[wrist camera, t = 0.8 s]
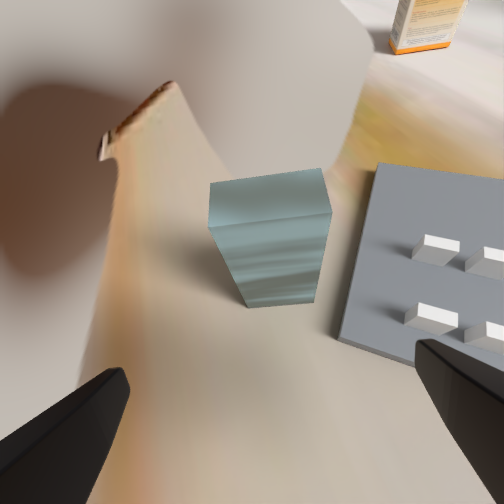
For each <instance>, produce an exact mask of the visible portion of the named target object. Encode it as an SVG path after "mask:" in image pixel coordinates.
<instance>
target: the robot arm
mask: <svg viewBox="0 0 504 504" xmlns="http://www.w3.org/2000/svg"><path fill="white" fill-rule="evenodd" d="M414 364H415V368H416V371H417V373H418V375H419V377H420V379H421V381H422V382H423V384H424V386H425V388H426V390H427V392H428V394H429V396H430V397H431V399H432V401H433V403H434V405H435V407H436V409H437V411H438V412H439V414H440V416H441V418H442V420H443V422H444V423H445V425H446V427H447V428H448V430H449V432H450V433H451V435H452V436H453V438H454V440H455V441H456V443H457V444H458V446H459V447H460V449H461V450H462V452H463V453H464V455H465V456H466V458H467V459H468V461H469V462H470V464H471V465H472V467H473V469H474V470H475V472H476V473H477V475H478V476H479V478H480V479H481V481H482V482H483V484H484V485H485V487H486V488H487V490H488V491H489V493H490V494H491V496H492V498H493V499H494V501H495V502H496V504H504V371H502V370H499V369H497V368H495V367H493V366H491V365H489V364H487V363H484V362H482V361H480V360H478V359H476V358H474V357H471V356H469V355H467V354H465V353H463V352H461V351H459V350H456V349H454V348H452V347H450V346H448V345H446V344H443V343H441V342H439V341H437V340H435V339H431V338H429V339H419V340H417V341H416V343H415V359H414ZM129 395H130V386H129V383H128V380H127V378H126V375H125V372H124V370H123V369H122V368H120V367H116V368H109V369H107V370H105V371H103V372H102V373H100V374H99V375H97V376H96V377H95V378H93V379H92V380H90V381H89V382H87V383H86V384H84V385H83V386H81V387H80V388H78V389H77V390H75V391H74V392H72V393H71V394H69V395H68V396H66V397H65V398H63V399H62V400H60V401H59V402H57V403H56V404H54V405H53V406H51V407H50V408H48V409H47V410H45V411H44V412H42V413H41V414H39V415H38V416H37V417H35V418H33V419H32V420H30V421H29V422H27V423H26V424H25V425H23V426H22V427H20V428H19V429H17V430H16V431H14V432H13V433H11V434H10V435H8V436H7V437H5V438H4V439H2V440H1V441H0V504H86V502H87V500H88V498H89V496H90V493H91V491H92V489H93V487H94V484H95V482H96V480H97V478H98V476H99V473H100V471H101V469H102V467H103V464H104V462H105V460H106V458H107V455H108V453H109V451H110V448H111V446H112V443H113V440H114V438H115V435H116V432H117V429H118V426H119V424H120V421H121V418H122V415H123V412H124V409H125V407H126V404H127V401H128V398H129Z"/></svg>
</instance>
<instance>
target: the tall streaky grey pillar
mask: <svg viewBox="0 0 504 504" xmlns="http://www.w3.org/2000/svg"><path fill="white" fill-rule="evenodd" d="M331 217H332V208H331V205H330V201H329V197H328V193H327V189H326V185H325V182H324V178H323V174H322V170H321V168H317V169H310V170H302V171H295V172H288V173H281V174H274V175H266V176H259V177H252V178H245V179H237V180H230V181H223V182H215V183H210V200H209V218H208V228H209V230H210V232H211V234H212V236H213V238H214V240H215V242H216V244H217V246H218V249H219V251H220V253H221V255H222V257H223V259H224V261H225V263H226V265H227V267H228V269H229V271H230V273H231V275H232V277H233V279H234V281H235V283H236V285H237V287H238V289H239V291H240V293H241V295H242V297H243V299H244V301H245V303H246V305H247V307H248V308H259V307H270V306H282V305H293V304H305V303H314V298H315V293H316V289H317V284H318V279H319V274H320V270H321V265H322V260H323V255H324V251H325V246H326V241H327V236H328V231H329V227H330V222H331Z"/></svg>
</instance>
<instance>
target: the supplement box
mask: <svg viewBox="0 0 504 504" xmlns="http://www.w3.org/2000/svg"><path fill="white" fill-rule="evenodd" d="M468 1H469V0H399V4H398V7H397V11H396V15H395V19H394V23H393V27H392V31H391V34H390V38H389V44H390V46H391V48H392V49H393V52H394V53H395V55H398V54H404V53H410V52H416V51H423V50H429V49H436V48H443V47H448V46H449V45H450V43H451V40H452V38H453V36H454V33H455V31H456V29H457V26H458V24H459V22H460V20H461V17H462V15H463V13H464V10H465V8H466V6H467V3H468Z"/></svg>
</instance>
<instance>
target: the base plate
mask: <svg viewBox="0 0 504 504" xmlns="http://www.w3.org/2000/svg"><path fill="white" fill-rule="evenodd" d="M429 338H431V339H435V340H437V341H439V342H441V343H443V344H446V345H448V346H450V347H452V348H454V349H456V350H459V351H461V352H463V353H465V354H467V355H469V356H471V357H474V358H476V359H478V360H480V361H482V362H484V363H487V364H489V365H491V366H493V367H495V368H497V369H499V370H502V371H504V180H502V179H495V178H488V177H481V176H473V175H466V174H459V173H452V172H444V171H437V170H430V169H423V168H415V167H408V166H401V165H394V164H386V163H378V166H377V169H376V171H375V175H374V180H373V184H372V188H371V193H370V197H369V202H368V206H367V211H366V215H365V219H364V224H363V228H362V233H361V237H360V242H359V246H358V250H357V255H356V259H355V264H354V268H353V273H352V277H351V281H350V286H349V290H348V295H347V299H346V304H345V308H344V312H343V317H342V321H341V326H340V330H339V335H338V339H337V341H340V342H343V343H346V344H349V345H352V346H354V347H357V348H360V349H363V350H366V351H369V352H372V353H375V354H377V355H380V356H383V357H386V358H389V359H392V360H395V361H398V362H400V363H403V364H406V365H409V366H412V367H415V364H414V359H415V343H416V341H417V340H419V339H429Z"/></svg>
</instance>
